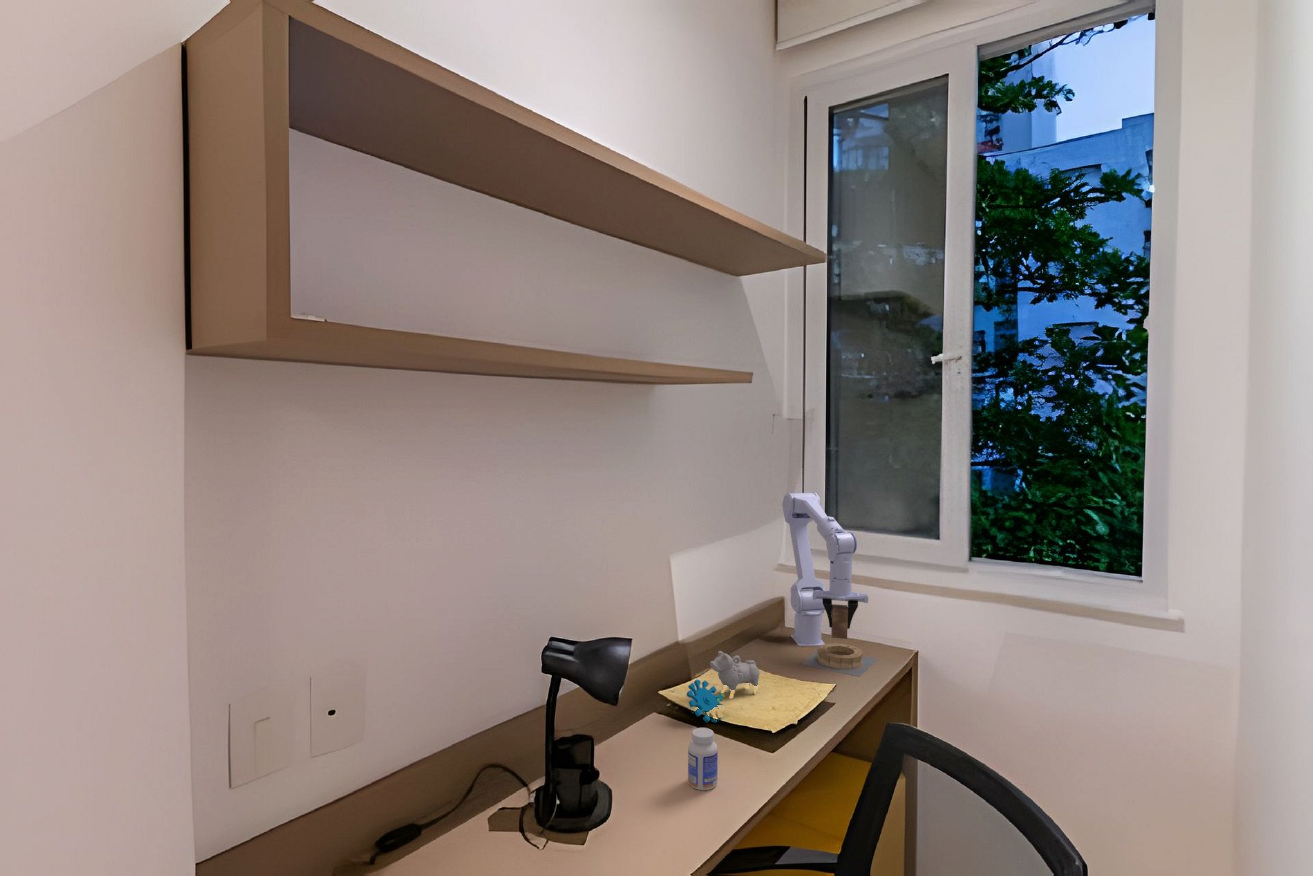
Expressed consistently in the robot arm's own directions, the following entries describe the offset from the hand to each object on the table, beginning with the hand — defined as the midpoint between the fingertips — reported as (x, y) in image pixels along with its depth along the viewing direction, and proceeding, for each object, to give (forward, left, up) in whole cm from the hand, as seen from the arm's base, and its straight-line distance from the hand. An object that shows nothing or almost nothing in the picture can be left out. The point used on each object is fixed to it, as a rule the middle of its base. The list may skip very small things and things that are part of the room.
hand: (839, 627), depth 198 cm
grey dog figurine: (+20, -32, -10) cm, 39 cm away
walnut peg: (0, 0, -2) cm, 2 cm away
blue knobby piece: (+32, -40, -10) cm, 52 cm away
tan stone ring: (0, 0, -10) cm, 10 cm away
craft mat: (0, 0, -10) cm, 10 cm away
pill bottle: (+61, -45, -10) cm, 76 cm away
